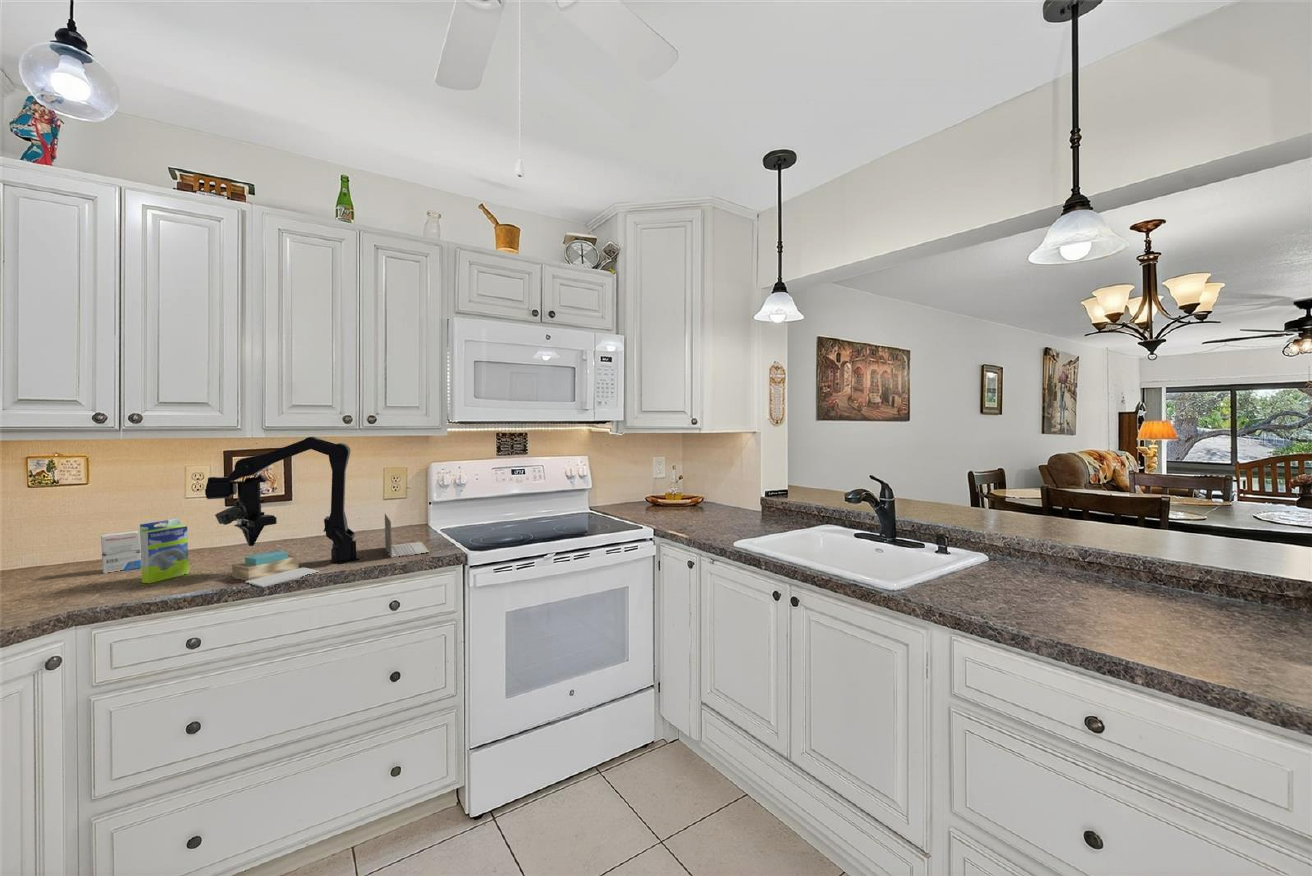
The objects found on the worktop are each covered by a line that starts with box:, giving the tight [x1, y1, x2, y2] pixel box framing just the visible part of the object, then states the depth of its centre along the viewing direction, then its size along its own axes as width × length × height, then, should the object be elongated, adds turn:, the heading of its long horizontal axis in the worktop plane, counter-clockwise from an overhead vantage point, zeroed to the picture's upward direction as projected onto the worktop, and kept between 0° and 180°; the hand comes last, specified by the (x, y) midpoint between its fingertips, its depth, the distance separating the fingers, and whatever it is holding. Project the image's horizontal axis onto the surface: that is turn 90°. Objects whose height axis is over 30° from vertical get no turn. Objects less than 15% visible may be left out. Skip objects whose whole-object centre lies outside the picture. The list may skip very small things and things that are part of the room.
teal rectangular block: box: [244, 549, 289, 566], centre depth 162 cm, size 9×6×2 cm, turn 153°
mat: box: [244, 566, 320, 588], centre depth 158 cm, size 16×9×1 cm, turn 153°
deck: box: [231, 554, 300, 581], centre depth 162 cm, size 14×9×4 cm, turn 153°
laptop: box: [384, 513, 430, 559], centre depth 190 cm, size 18×12×13 cm
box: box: [139, 517, 190, 584], centre depth 158 cm, size 10×4×17 cm, turn 163°
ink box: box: [100, 530, 142, 574], centre depth 167 cm, size 9×5×12 cm, turn 134°
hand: (251, 545), depth 166 cm, fingers closed
